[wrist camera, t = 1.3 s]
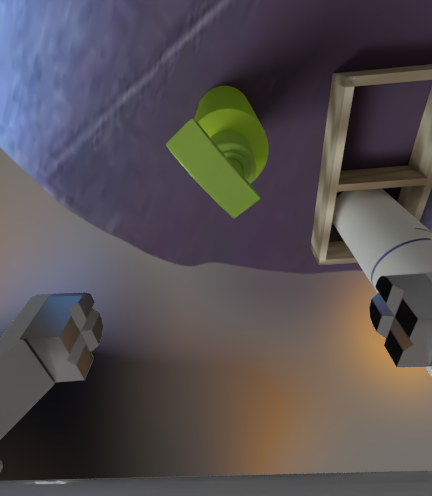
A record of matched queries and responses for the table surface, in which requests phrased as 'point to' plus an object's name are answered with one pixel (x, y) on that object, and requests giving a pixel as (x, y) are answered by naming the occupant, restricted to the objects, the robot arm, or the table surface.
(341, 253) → the frame
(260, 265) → the table surface
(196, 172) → the soap dispenser
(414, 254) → the cylindrical container
